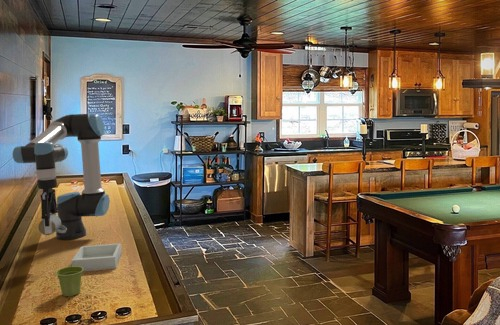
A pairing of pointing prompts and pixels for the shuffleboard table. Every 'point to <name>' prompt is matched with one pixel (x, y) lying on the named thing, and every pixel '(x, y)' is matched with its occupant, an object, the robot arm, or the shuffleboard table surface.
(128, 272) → the shuffleboard table surface
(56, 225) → the ceramic mug
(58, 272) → the plant pot
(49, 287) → the shuffleboard table surface
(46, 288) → the shuffleboard table surface
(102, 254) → the bin
